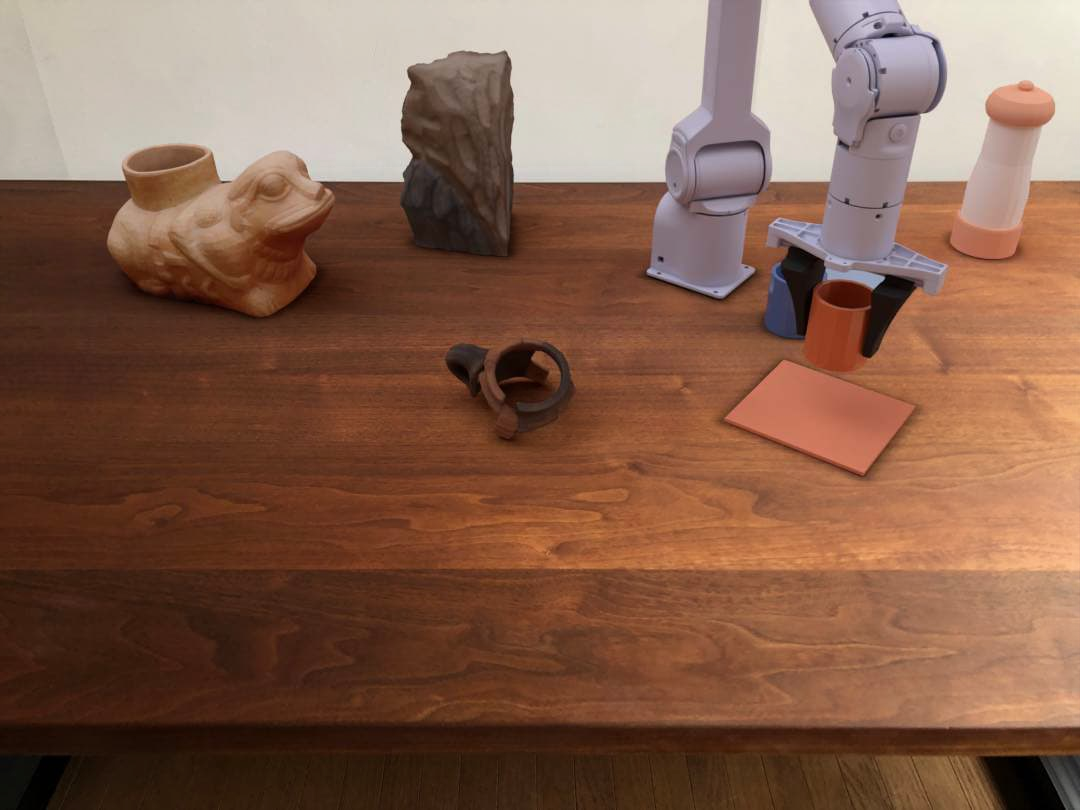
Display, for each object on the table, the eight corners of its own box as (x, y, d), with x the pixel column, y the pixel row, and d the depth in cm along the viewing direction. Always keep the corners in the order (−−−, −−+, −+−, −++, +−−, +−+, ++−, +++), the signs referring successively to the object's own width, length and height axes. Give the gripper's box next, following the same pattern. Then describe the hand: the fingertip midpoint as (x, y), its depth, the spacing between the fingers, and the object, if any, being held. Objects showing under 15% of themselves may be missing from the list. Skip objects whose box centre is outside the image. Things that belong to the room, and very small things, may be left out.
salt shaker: (1021, 240, 124) (1070, 78, 113) (1007, 265, 119) (1056, 97, 108) (958, 226, 127) (999, 66, 116) (942, 249, 122) (983, 84, 111)
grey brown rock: (400, 246, 122) (386, 73, 110) (434, 202, 132) (425, 39, 120) (506, 258, 119) (503, 83, 108) (532, 212, 129) (532, 47, 118)
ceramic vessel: (306, 332, 106) (286, 193, 97) (88, 290, 113) (51, 157, 104) (368, 271, 117) (355, 140, 108) (165, 236, 124) (138, 111, 115)
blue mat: (778, 268, 118) (778, 265, 118) (819, 233, 125) (819, 230, 125) (890, 302, 111) (891, 299, 111) (927, 264, 119) (927, 260, 119)
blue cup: (754, 327, 107) (762, 275, 104) (778, 306, 111) (786, 255, 107) (804, 344, 105) (813, 291, 101) (826, 322, 108) (836, 270, 105)
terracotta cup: (792, 358, 91) (802, 297, 87) (818, 332, 94) (829, 273, 91) (851, 379, 88) (864, 317, 85) (876, 351, 92) (889, 291, 88)
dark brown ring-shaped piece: (576, 385, 99) (592, 344, 92) (547, 472, 95) (561, 437, 88) (456, 343, 99) (462, 299, 92) (421, 429, 95) (425, 390, 88)
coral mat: (723, 421, 94) (724, 417, 94) (783, 362, 102) (783, 359, 102) (863, 476, 88) (863, 472, 87) (914, 409, 96) (915, 405, 95)
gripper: (758, 187, 84) (739, 334, 91) (939, 236, 77) (901, 390, 84) (796, 160, 88) (775, 302, 96) (970, 203, 81) (932, 352, 89)
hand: (836, 341), depth 91 cm, fingers closed on terracotta cup, 5 cm apart
